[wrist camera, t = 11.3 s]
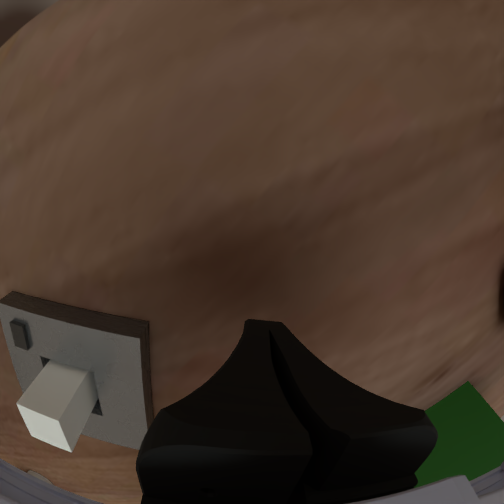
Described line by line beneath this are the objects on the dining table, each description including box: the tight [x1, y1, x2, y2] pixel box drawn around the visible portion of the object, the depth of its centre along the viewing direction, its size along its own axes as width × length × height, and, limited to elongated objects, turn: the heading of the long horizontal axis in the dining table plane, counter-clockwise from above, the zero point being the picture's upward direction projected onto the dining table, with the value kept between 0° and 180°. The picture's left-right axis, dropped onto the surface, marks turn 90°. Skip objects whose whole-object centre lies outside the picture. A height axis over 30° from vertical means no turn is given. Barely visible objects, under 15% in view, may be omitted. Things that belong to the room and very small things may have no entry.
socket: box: [0, 291, 154, 450], centre depth 22 cm, size 14×14×3 cm
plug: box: [16, 359, 99, 452], centre depth 19 cm, size 4×4×8 cm
